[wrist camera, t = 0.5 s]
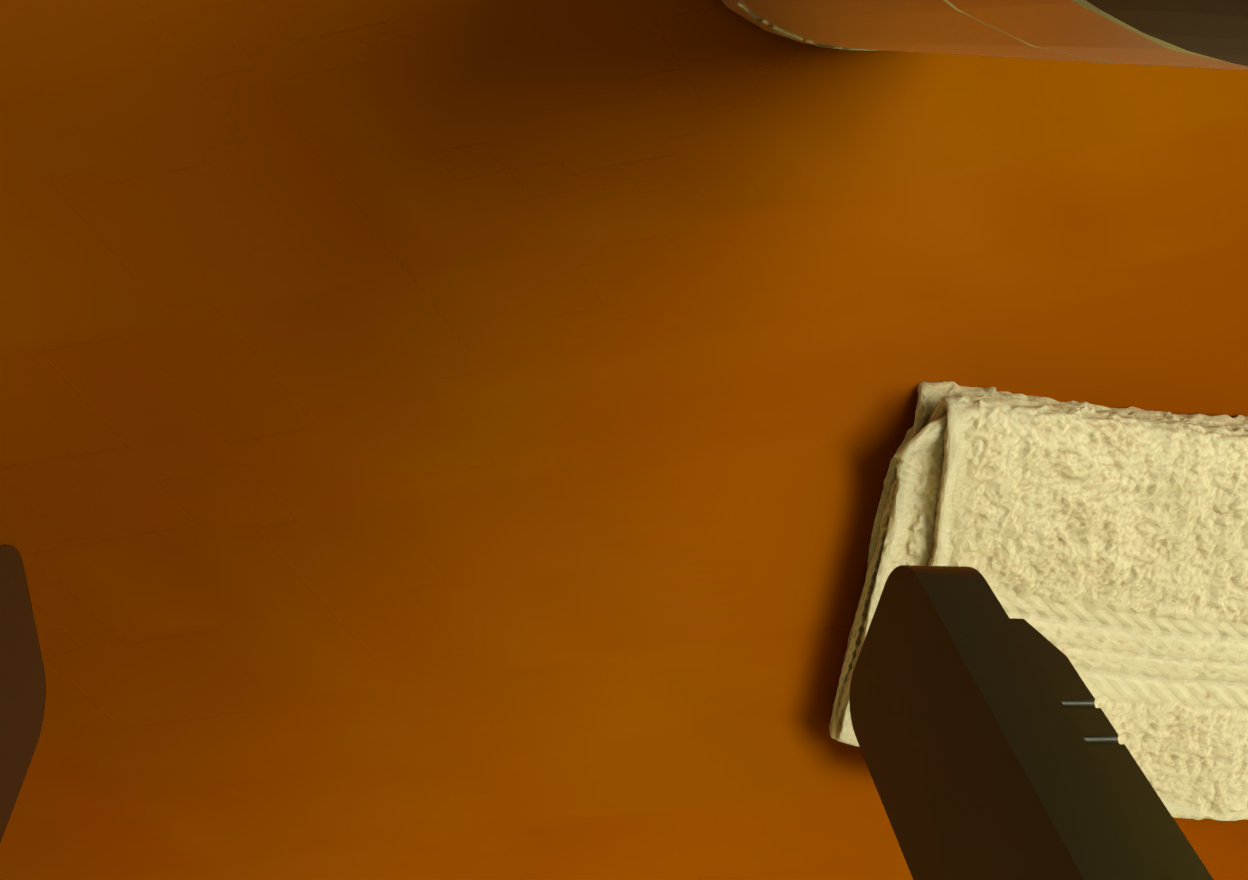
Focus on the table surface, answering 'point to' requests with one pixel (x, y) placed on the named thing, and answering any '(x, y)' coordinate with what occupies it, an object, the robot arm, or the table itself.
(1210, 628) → the washcloth
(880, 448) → the table surface
